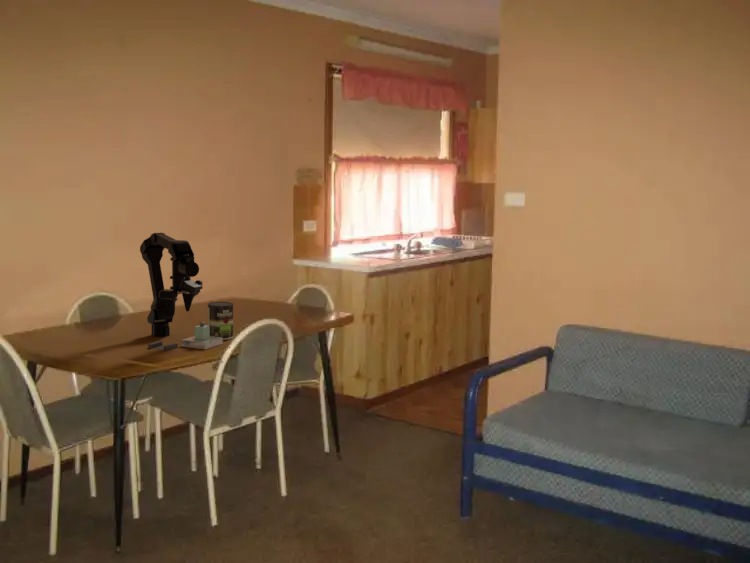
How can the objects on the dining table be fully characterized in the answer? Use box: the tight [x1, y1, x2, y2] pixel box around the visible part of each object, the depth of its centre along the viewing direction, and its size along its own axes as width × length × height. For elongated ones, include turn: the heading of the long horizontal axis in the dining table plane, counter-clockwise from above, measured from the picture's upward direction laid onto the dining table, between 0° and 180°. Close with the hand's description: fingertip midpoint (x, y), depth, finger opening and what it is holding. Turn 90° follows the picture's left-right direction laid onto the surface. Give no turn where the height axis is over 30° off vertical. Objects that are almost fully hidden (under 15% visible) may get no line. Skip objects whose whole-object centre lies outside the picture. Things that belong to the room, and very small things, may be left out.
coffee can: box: [207, 301, 234, 341], centre depth 332 cm, size 10×10×14 cm
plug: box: [194, 321, 210, 341], centre depth 314 cm, size 4×4×10 cm
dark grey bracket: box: [147, 340, 179, 352], centre depth 309 cm, size 9×6×2 cm, turn 66°
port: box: [181, 335, 223, 350], centre depth 315 cm, size 11×11×4 cm
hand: (180, 313), depth 315 cm, fingers open, 9 cm apart
